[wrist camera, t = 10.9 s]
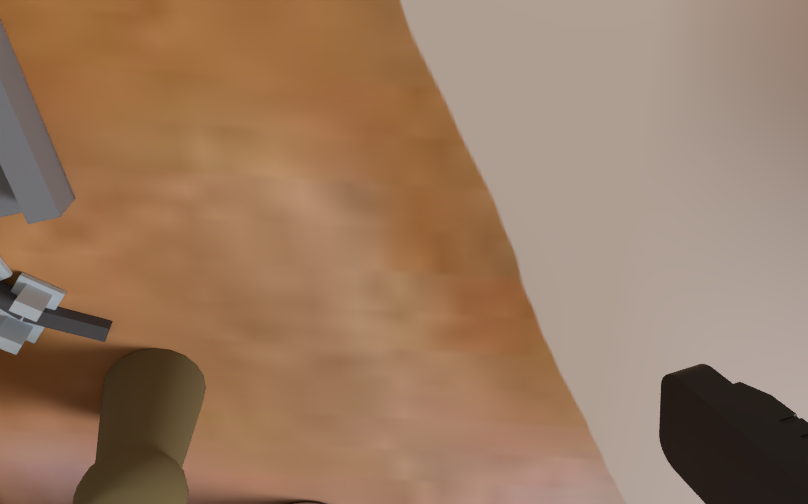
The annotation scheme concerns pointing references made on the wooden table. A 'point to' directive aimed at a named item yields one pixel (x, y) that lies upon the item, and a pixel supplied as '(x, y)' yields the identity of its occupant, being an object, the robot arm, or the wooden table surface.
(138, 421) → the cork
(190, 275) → the wooden table surface
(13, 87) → the end holder
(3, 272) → the clip
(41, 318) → the cable
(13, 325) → the clip
